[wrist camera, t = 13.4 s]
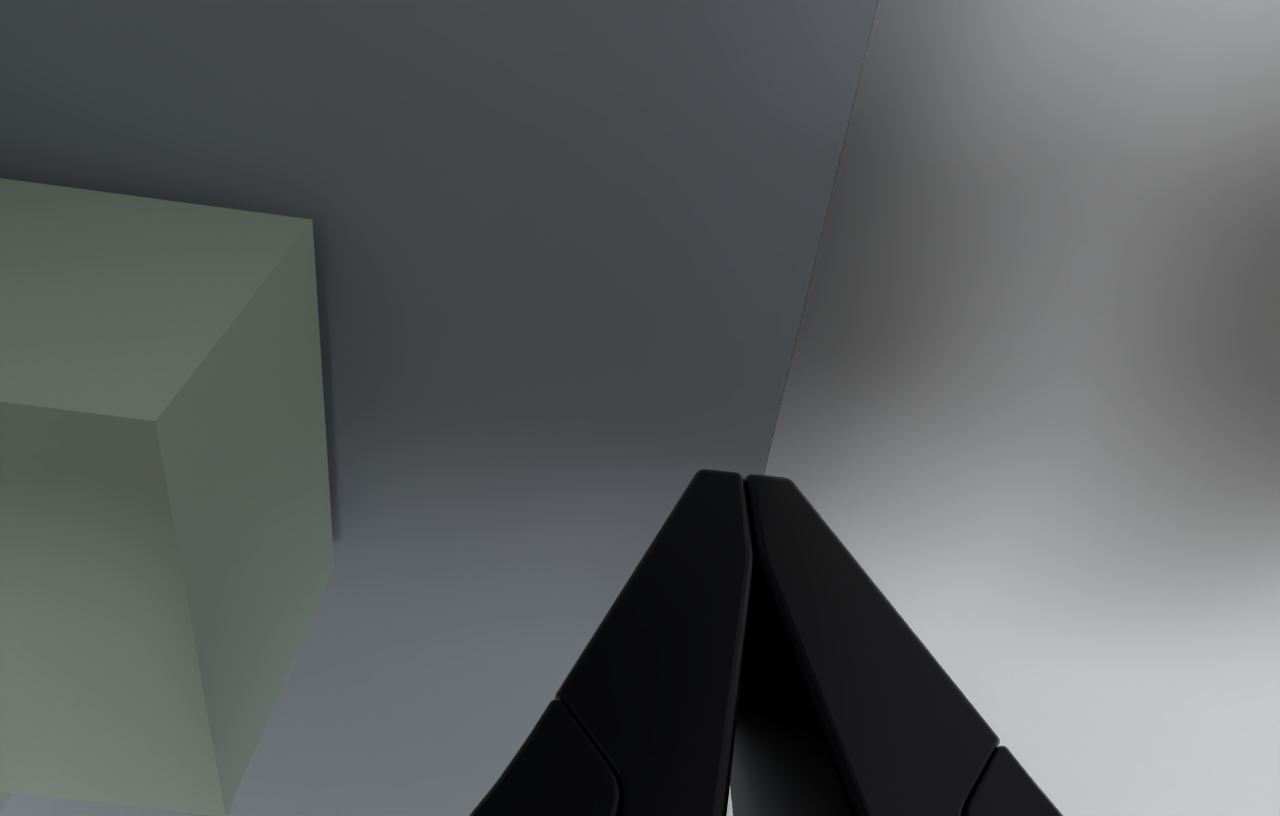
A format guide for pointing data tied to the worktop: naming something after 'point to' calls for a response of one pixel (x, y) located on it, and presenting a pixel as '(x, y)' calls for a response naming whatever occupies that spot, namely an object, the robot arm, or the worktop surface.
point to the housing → (153, 491)
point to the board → (472, 311)
